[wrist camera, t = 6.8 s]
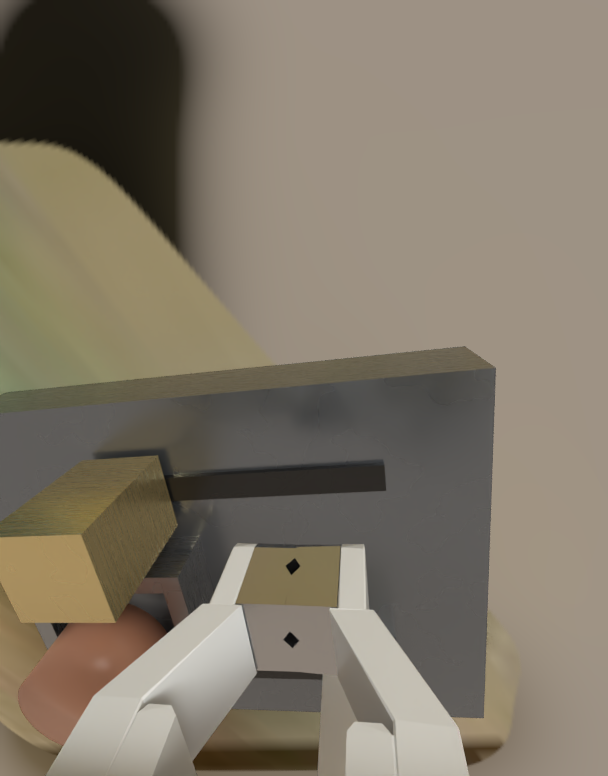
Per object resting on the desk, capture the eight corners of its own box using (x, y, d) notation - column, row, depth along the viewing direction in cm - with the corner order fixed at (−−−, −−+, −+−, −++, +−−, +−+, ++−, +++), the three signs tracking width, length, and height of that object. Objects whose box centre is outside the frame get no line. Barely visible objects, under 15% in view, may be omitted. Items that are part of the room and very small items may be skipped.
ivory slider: (397, 650, 15) (415, 782, 11) (400, 700, 16) (419, 838, 12) (324, 649, 15) (317, 776, 11) (332, 698, 16) (327, 830, 12)
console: (464, 346, 14) (527, 389, 9) (462, 649, 19) (502, 779, 14) (6, 392, 17) (-128, 443, 12) (109, 645, 22) (44, 751, 17)
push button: (156, 599, 13) (115, 672, 11) (182, 676, 14) (150, 757, 12) (58, 600, 14) (-1, 669, 11) (91, 674, 15) (44, 750, 13)
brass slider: (157, 455, 13) (80, 534, 9) (177, 525, 14) (115, 622, 10) (82, 460, 13) (-22, 538, 10) (106, 527, 14) (20, 622, 10)
